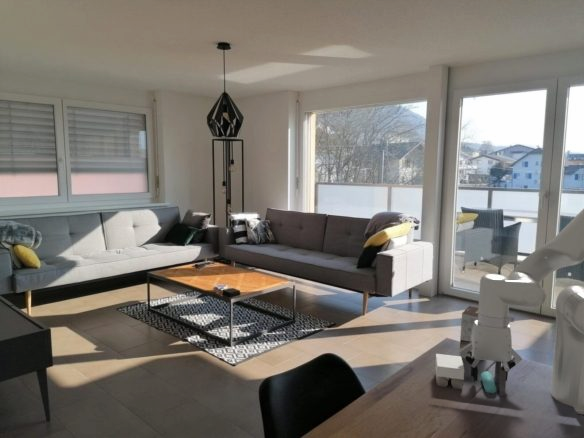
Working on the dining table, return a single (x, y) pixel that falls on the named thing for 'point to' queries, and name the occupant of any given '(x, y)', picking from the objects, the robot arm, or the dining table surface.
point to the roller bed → (458, 384)
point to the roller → (488, 382)
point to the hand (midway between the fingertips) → (488, 380)
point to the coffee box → (467, 327)
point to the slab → (449, 366)
